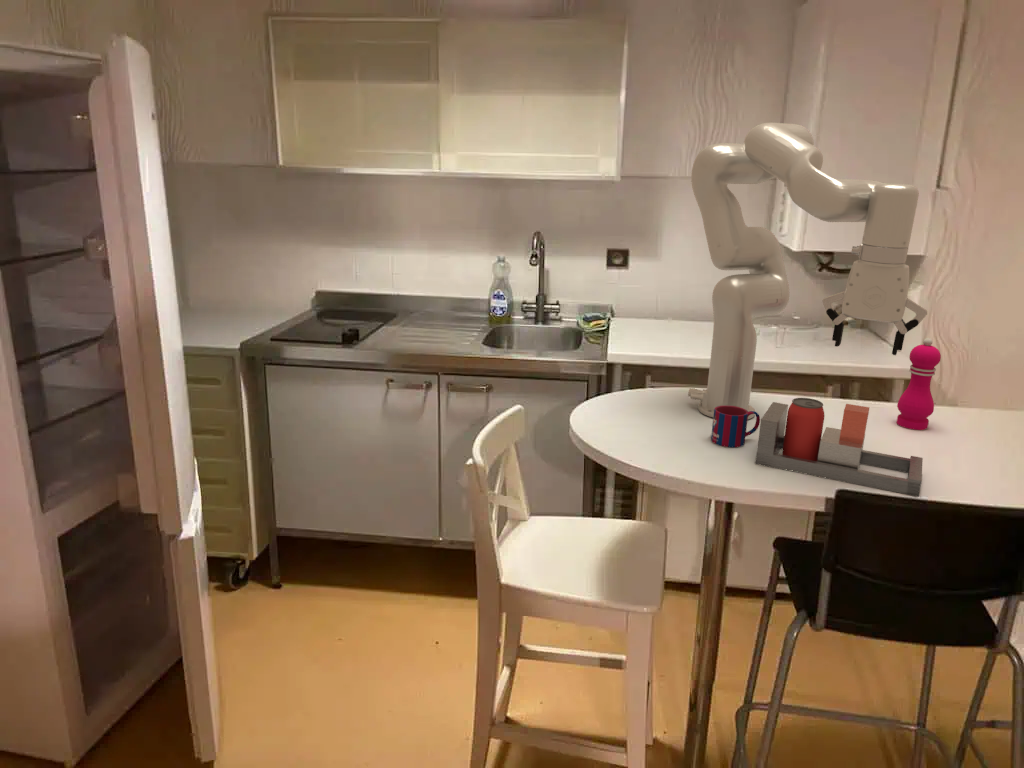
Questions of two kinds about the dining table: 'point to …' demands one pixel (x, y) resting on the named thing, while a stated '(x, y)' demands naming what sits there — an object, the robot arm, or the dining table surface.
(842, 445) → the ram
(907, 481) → the press frame
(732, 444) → the mug
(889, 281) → the robot arm
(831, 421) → the dining table surface
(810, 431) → the beer can
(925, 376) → the pepper mill
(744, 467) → the dining table surface
